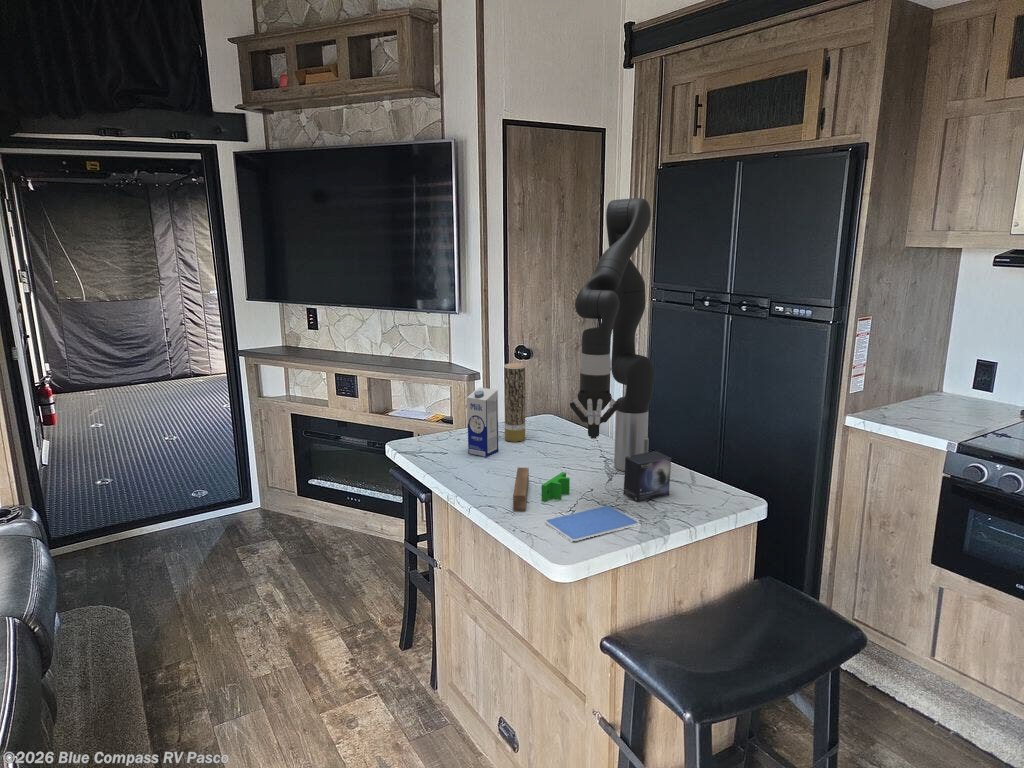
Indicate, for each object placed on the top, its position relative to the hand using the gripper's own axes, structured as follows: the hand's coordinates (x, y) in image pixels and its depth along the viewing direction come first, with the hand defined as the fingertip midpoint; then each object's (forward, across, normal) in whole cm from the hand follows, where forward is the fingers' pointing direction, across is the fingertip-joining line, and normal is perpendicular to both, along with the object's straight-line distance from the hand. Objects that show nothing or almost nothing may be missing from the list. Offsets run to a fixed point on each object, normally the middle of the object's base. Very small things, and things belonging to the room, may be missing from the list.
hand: (593, 437), depth 171 cm
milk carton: (+16, +32, -34) cm, 49 cm away
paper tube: (+16, +23, -48) cm, 55 cm away
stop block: (+16, +18, 0) cm, 24 cm away
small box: (+16, -14, -2) cm, 22 cm away
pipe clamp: (+16, +9, 0) cm, 19 cm away
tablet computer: (+17, +1, +17) cm, 24 cm away
